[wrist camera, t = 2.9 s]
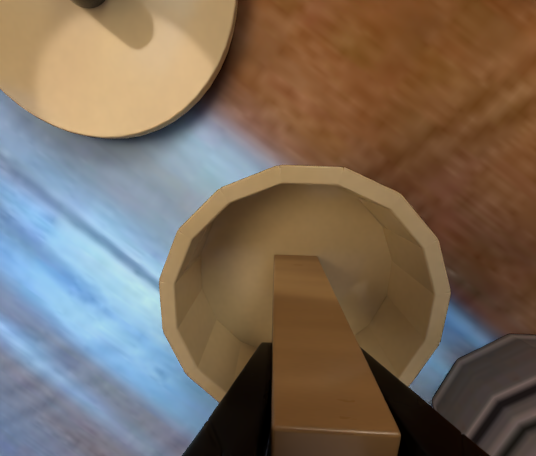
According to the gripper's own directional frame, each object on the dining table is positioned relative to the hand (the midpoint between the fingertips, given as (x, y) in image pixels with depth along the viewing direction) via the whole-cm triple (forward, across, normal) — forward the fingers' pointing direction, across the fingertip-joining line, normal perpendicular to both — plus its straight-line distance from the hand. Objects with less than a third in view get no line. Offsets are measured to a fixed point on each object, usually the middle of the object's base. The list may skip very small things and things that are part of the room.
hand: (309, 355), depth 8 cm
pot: (+7, 0, 0) cm, 7 cm away
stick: (+6, 0, 0) cm, 6 cm away
